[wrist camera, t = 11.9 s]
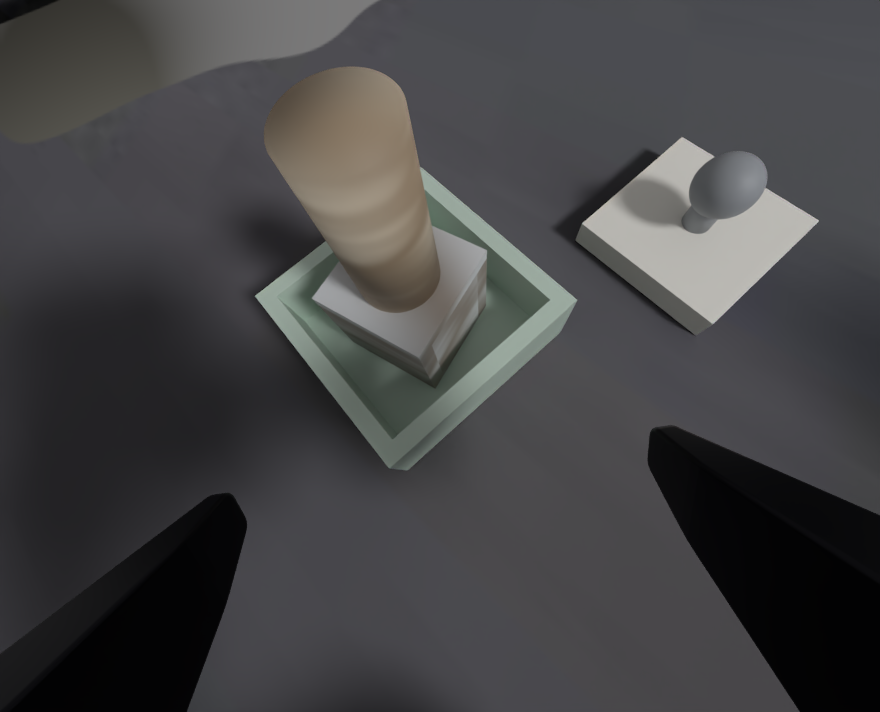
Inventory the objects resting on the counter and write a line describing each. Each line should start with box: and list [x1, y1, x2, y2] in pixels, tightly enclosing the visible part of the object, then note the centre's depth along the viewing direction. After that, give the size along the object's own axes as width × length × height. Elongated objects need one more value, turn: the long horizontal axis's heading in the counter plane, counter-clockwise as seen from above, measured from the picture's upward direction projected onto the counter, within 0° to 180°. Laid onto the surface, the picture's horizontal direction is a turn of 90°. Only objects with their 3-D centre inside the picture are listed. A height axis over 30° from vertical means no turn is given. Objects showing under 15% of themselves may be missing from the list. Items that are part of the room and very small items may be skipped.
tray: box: [255, 168, 577, 471], centre depth 19 cm, size 11×11×4 cm
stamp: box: [264, 67, 487, 388], centre depth 14 cm, size 5×5×12 cm
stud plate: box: [575, 137, 819, 336], centre depth 18 cm, size 8×8×5 cm
